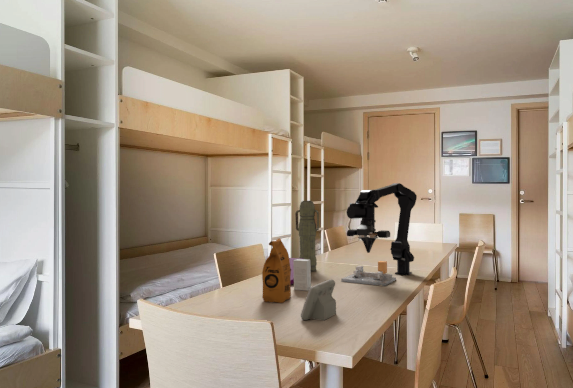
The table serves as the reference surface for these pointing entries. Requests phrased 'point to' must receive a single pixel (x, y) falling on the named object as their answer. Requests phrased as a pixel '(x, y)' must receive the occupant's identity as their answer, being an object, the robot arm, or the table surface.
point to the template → (368, 277)
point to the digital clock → (320, 302)
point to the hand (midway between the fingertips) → (368, 252)
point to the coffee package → (276, 274)
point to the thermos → (307, 231)
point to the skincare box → (302, 274)
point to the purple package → (292, 269)
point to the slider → (381, 268)
